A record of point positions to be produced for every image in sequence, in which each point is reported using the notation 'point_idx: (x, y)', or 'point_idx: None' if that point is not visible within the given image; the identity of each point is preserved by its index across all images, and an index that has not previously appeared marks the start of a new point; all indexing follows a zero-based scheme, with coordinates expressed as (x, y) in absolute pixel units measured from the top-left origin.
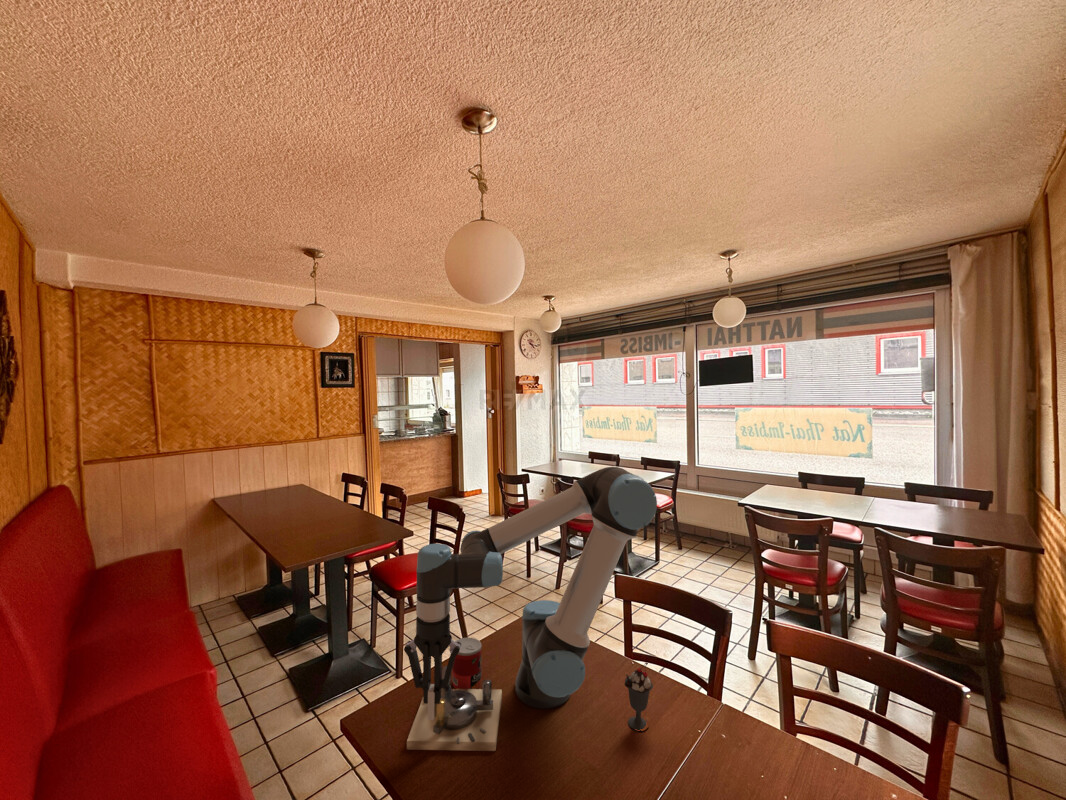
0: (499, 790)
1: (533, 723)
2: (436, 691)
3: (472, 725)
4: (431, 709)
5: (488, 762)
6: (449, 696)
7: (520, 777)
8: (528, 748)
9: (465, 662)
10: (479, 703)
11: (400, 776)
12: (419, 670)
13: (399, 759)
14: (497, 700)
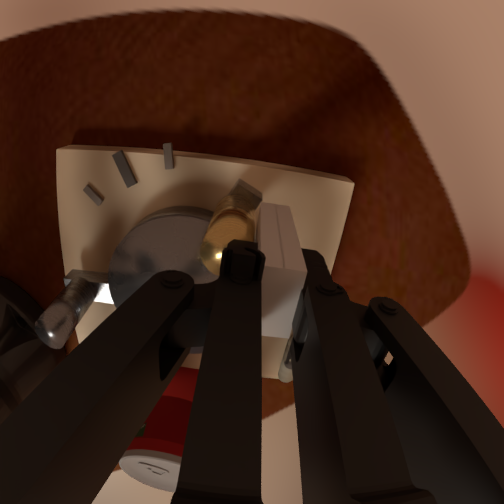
0: (66, 24)
1: (6, 234)
2: (240, 251)
3: (128, 223)
4: (273, 220)
5: (87, 104)
6: None
7: (22, 67)
8: (6, 155)
9: (165, 432)
10: (103, 289)
11: (355, 78)
12: (395, 406)
13: (365, 142)
14: None
